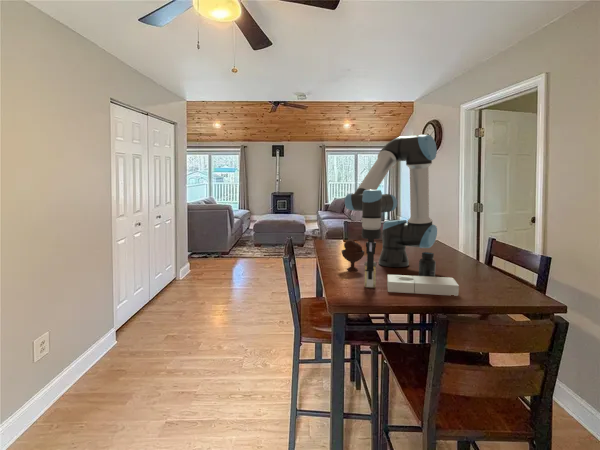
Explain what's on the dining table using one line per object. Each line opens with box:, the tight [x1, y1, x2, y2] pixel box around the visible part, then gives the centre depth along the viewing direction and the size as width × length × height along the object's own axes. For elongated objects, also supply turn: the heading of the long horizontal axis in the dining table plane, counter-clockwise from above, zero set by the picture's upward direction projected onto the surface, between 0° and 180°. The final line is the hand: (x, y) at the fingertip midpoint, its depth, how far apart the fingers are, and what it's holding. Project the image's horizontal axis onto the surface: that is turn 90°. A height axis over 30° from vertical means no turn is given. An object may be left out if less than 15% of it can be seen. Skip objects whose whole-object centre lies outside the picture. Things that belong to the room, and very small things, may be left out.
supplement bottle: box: [418, 251, 437, 277], centre depth 164 cm, size 7×7×12 cm
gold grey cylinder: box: [364, 261, 377, 289], centre depth 154 cm, size 5×5×10 cm
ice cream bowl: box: [341, 239, 365, 272], centre depth 183 cm, size 11×11×15 cm
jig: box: [386, 274, 460, 297], centre depth 150 cm, size 12×26×4 cm, turn 78°
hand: (370, 285), depth 154 cm, fingers closed on gold grey cylinder, 4 cm apart
